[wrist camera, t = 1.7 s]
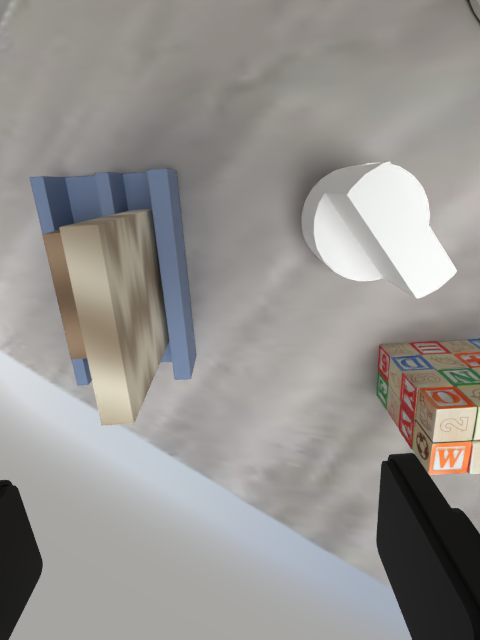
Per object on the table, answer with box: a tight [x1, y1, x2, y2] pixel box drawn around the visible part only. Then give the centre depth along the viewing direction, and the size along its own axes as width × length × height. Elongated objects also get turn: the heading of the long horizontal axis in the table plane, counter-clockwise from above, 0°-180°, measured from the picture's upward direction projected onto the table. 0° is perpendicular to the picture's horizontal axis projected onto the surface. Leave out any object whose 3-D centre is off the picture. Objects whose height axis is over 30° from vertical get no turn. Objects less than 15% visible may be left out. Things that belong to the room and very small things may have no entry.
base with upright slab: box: [301, 161, 457, 299], centre depth 29 cm, size 9×9×12 cm
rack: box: [30, 169, 196, 385], centre depth 34 cm, size 18×10×5 cm, turn 3°
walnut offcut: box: [42, 230, 87, 359], centre depth 32 cm, size 10×3×7 cm, turn 3°
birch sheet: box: [59, 209, 169, 425], centre depth 28 cm, size 12×2×15 cm, turn 3°
